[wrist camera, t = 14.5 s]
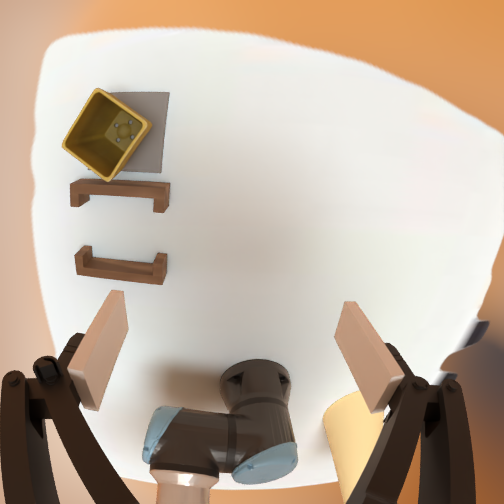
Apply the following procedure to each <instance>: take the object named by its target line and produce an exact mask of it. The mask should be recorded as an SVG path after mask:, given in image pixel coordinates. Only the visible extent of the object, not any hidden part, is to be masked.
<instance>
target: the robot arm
mask: <svg viewBox="0 0 504 504" xmlns="http://www.w3.org/2000/svg"><path fill="white" fill-rule="evenodd" d="M127 332H128V322H127V315H126V308H125V300H124V292H123V291H117V290H111V291H110V293H109V295H108V296H107V298H106V300H105V301H104V303H103V305H102V306H101V308H100V310H99V311H98V313H97V315H96V316H95V318H94V320H93V322H92V323H91V325H90V327H89V329H88V330H87V332H86V334H82V333H76V334H75V335H73V336H72V337H71V338H70V339H69V341H68V343H67V344H66V346H65V348H64V349H63V351H62V353H61V355H60V356H59V358H58V360H57V359H56V358H55V357H53V356H44V357H41V358H39V359H37V360H36V361H35V362H34V365H33V371H34V373H35V375H36V377H37V378H28V379H27V378H25V376H24V374H23V373H22V372H20V371H15V370H14V371H10V372H8V373H7V374H6V375H5V376H4V377H3V380H2V389H1V403H0V456H1V471H2V481H3V489H4V496H5V503H6V504H60V502H59V498H58V495H57V490H56V486H55V481H54V477H53V472H52V467H51V461H50V455H49V449H48V442H47V434H46V426H45V419H52V420H53V422H54V424H55V427H56V429H57V431H58V434H59V436H60V438H61V440H62V443H63V445H64V447H65V449H66V451H67V453H68V455H69V457H70V459H71V461H72V463H73V465H74V467H75V469H76V471H77V473H78V475H79V476H80V478H81V480H82V482H83V483H84V485H85V487H86V489H87V490H88V492H89V494H90V495H91V497H92V498H93V500H94V502H95V503H96V504H139V502H138V501H137V500H136V498H135V497H134V496H133V495H132V493H131V492H130V490H129V489H128V488H127V486H126V485H125V484H124V482H123V481H122V479H121V478H120V476H119V475H118V474H117V472H116V471H115V469H114V468H113V466H112V465H111V463H110V461H109V460H108V458H107V457H106V455H105V454H104V452H103V450H102V449H101V447H100V445H99V444H98V442H97V440H96V439H95V437H94V435H93V433H92V432H91V430H90V428H89V426H88V424H87V422H86V420H85V419H84V417H83V415H82V413H81V411H80V409H79V404H80V402H81V403H82V405H83V407H84V408H85V409H89V410H94V411H99V408H100V405H101V402H102V399H103V396H104V393H105V390H106V387H107V384H108V382H109V379H110V376H111V373H112V371H113V368H114V365H115V363H116V360H117V357H118V355H119V352H120V350H121V347H122V344H123V342H124V339H125V337H126V334H127ZM334 338H335V340H336V342H337V344H338V346H339V348H340V350H341V352H342V354H343V356H344V358H345V360H346V362H347V364H348V366H349V369H350V371H351V373H352V375H353V377H354V379H355V381H356V383H357V385H358V387H359V390H360V392H361V394H362V396H363V398H364V400H365V402H366V404H367V407H368V409H369V411H370V413H371V414H374V413H379V412H384V410H385V408H386V407H387V405H389V407H390V409H391V410H390V412H389V413H388V415H387V416H386V418H385V419H384V421H383V423H384V425H383V428H382V430H381V433H380V435H379V438H378V440H377V442H376V444H375V447H374V449H373V451H372V453H371V455H370V458H369V460H368V462H367V464H366V466H365V468H364V470H363V472H362V474H361V476H360V478H359V480H358V482H357V484H356V486H355V487H354V489H353V491H352V493H351V495H350V497H349V498H348V500H347V502H346V504H397V499H398V497H399V495H400V492H401V490H402V487H403V484H404V482H405V479H406V476H407V473H408V471H409V468H410V465H411V462H412V458H413V455H414V452H415V449H416V445H417V442H418V438H419V435H420V431H421V462H420V485H419V498H418V504H476V491H475V474H474V462H473V452H472V444H471V437H470V430H469V424H468V418H467V412H466V407H465V402H464V397H463V393H462V388H461V386H460V385H459V383H458V382H456V381H455V380H452V379H445V380H444V381H443V382H442V383H441V385H440V386H437V385H429V383H428V382H427V381H426V380H425V379H423V378H422V377H418V376H415V375H414V374H413V372H412V371H411V369H410V368H409V366H408V365H407V364H406V362H405V361H404V360H403V358H402V356H400V353H399V352H398V350H397V349H396V348H395V347H394V346H393V345H391V344H390V343H384V342H383V341H382V339H381V338H380V336H379V335H378V333H377V332H376V330H375V329H374V327H373V326H372V324H371V323H370V322H369V320H368V319H367V317H366V316H365V314H364V313H363V311H362V310H361V309H360V307H359V306H358V304H357V303H356V302H344V306H343V309H342V313H341V316H340V320H339V323H338V326H337V329H336V333H335V336H334ZM290 390H291V381H290V377H289V374H288V372H287V370H286V369H285V368H284V367H283V366H281V365H280V364H278V363H275V362H272V361H268V360H249V361H245V362H241V363H238V364H236V365H234V366H232V367H231V368H229V369H228V370H227V371H226V372H225V373H224V374H223V376H222V378H221V381H220V392H221V396H222V398H223V400H224V402H225V405H226V407H227V409H228V411H229V414H224V413H214V412H206V411H198V410H192V409H186V408H184V407H180V408H177V407H169V406H161V407H159V408H157V409H156V410H155V412H154V414H153V416H152V418H151V420H150V423H149V426H148V429H147V433H146V437H145V441H144V448H143V453H142V459H143V461H144V462H145V463H147V464H150V474H151V475H152V476H153V477H154V479H155V480H156V481H157V483H158V486H157V501H156V504H209V498H210V496H209V495H210V489H211V487H212V486H214V485H215V484H216V483H217V482H219V473H232V474H231V476H232V478H233V479H234V481H236V482H237V483H242V484H261V483H266V482H270V481H273V480H276V479H279V478H281V477H283V476H285V475H287V474H289V473H290V472H291V471H293V470H294V468H295V467H296V466H297V463H298V455H297V444H296V442H295V438H294V433H293V429H292V425H291V420H290V416H289V412H288V407H287V406H288V401H289V395H290Z"/></svg>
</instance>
